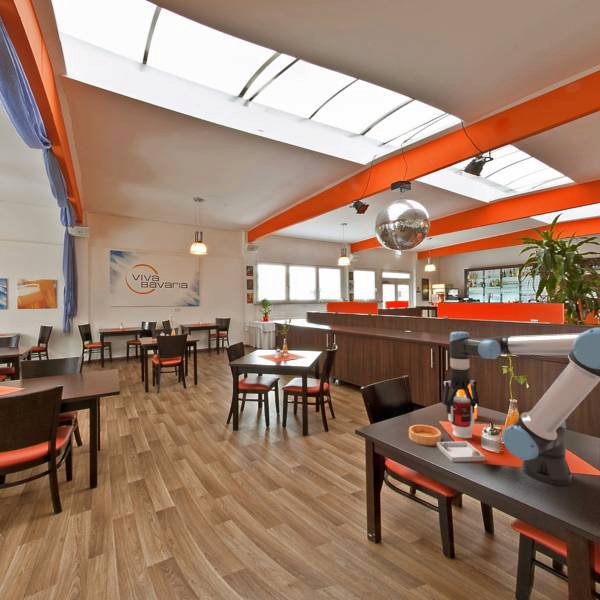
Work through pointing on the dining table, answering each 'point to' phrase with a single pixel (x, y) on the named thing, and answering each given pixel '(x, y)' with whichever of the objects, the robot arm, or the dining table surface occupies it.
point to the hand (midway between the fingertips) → (460, 420)
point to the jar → (464, 430)
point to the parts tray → (460, 451)
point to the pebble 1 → (444, 445)
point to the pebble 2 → (475, 453)
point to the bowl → (424, 434)
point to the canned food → (461, 411)
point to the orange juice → (462, 394)
